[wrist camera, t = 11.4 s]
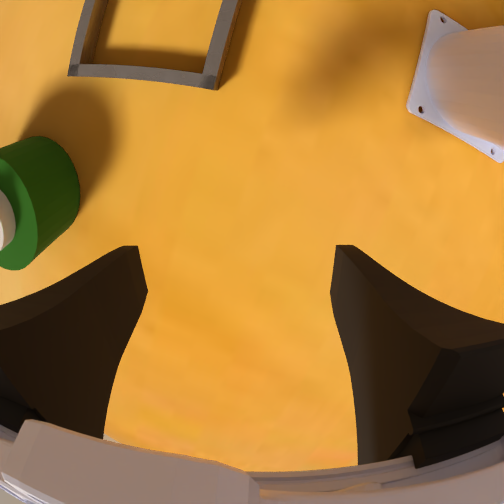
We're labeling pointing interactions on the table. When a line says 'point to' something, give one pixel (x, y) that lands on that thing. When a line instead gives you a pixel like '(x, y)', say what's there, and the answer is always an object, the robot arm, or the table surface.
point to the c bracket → (208, 80)
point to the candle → (34, 199)
